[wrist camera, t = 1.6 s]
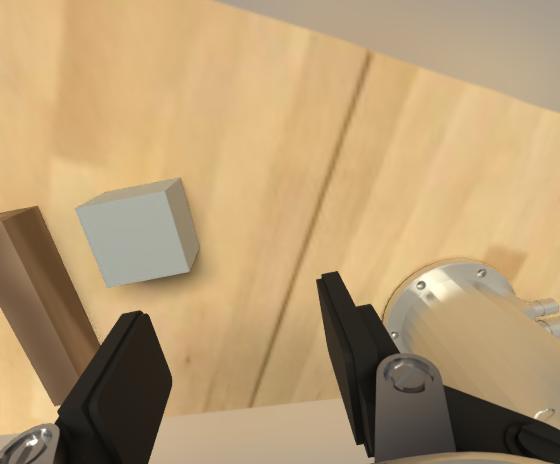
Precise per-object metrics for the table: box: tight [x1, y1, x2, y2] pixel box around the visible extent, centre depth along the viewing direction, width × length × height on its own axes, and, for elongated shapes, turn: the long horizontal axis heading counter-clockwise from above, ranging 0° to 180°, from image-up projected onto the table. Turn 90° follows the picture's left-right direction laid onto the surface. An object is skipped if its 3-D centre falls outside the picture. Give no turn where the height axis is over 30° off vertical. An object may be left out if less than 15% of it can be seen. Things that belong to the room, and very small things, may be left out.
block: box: [75, 178, 200, 288], centre depth 26 cm, size 6×6×5 cm
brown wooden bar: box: [0, 206, 100, 406], centre depth 28 cm, size 3×16×4 cm, turn 11°
